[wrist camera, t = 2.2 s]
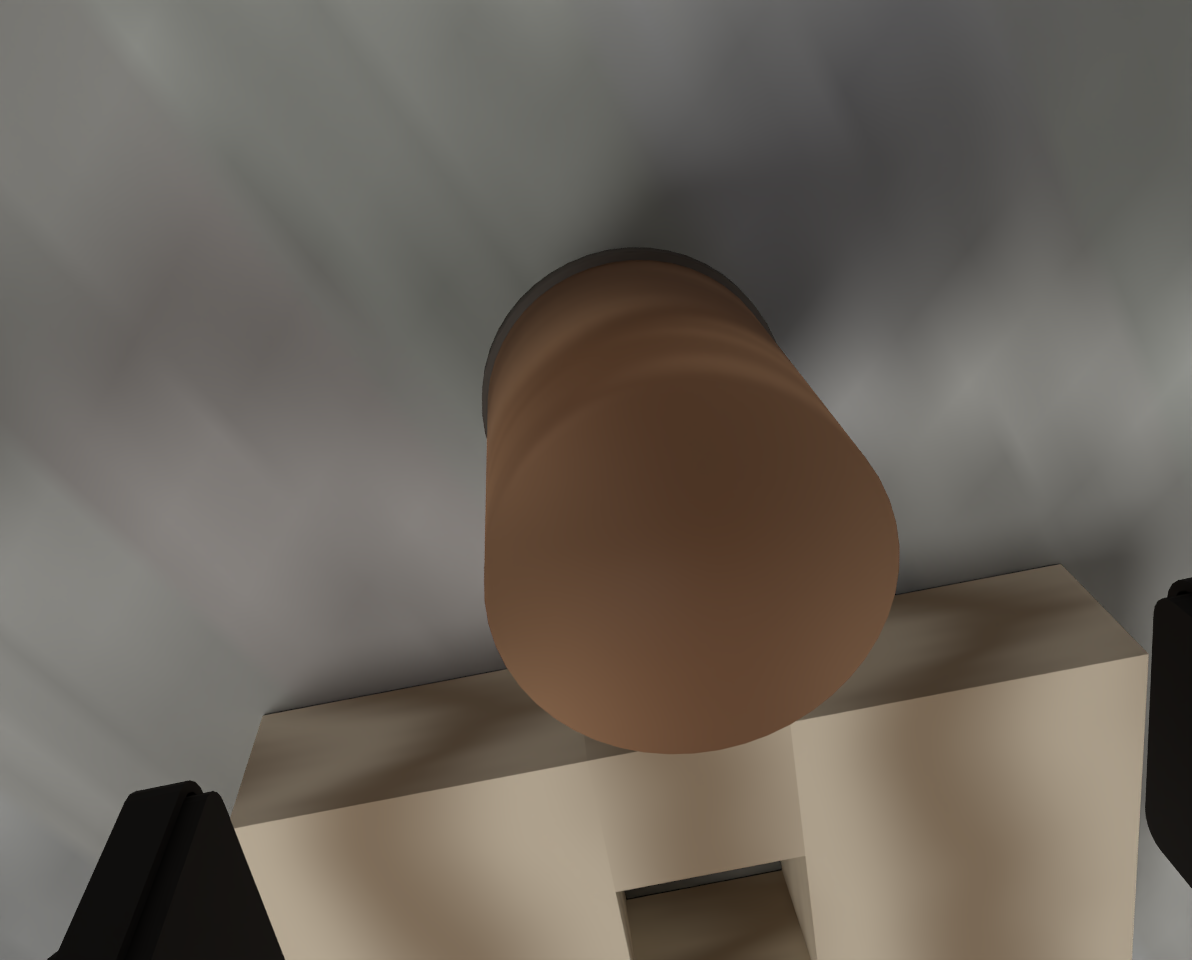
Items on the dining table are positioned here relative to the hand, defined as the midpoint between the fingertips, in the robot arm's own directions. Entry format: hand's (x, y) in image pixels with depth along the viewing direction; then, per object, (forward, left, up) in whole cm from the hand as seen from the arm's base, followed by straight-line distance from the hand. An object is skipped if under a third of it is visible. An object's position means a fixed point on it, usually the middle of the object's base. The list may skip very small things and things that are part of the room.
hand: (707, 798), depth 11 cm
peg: (0, 0, -14) cm, 14 cm away
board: (0, +14, -14) cm, 20 cm away
